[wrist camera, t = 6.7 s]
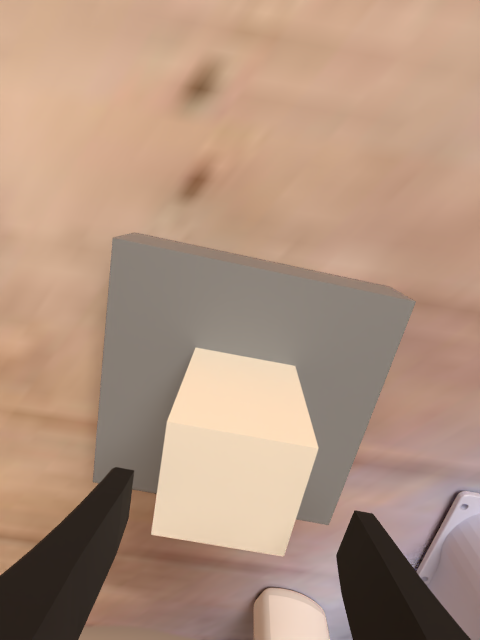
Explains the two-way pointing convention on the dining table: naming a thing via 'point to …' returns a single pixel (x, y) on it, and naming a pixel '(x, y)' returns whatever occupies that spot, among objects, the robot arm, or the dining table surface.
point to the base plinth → (240, 350)
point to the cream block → (235, 454)
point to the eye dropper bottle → (288, 617)
